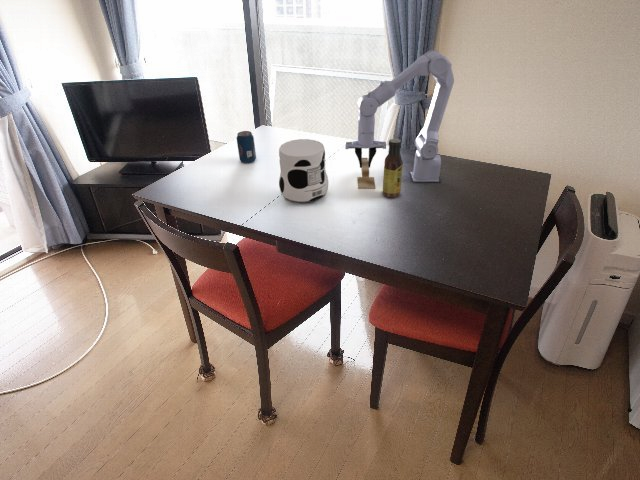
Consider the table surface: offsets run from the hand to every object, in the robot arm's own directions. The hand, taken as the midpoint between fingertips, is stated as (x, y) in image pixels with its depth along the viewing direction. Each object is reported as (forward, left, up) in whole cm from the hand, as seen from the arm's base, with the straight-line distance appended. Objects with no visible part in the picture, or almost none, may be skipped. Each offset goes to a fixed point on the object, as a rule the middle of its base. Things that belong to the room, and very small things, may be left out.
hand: (364, 166), depth 155 cm
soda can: (+48, -19, -6) cm, 52 cm away
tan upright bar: (0, +5, -1) cm, 5 cm away
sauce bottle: (-9, +11, -6) cm, 15 cm away
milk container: (+22, +11, -6) cm, 25 cm away
